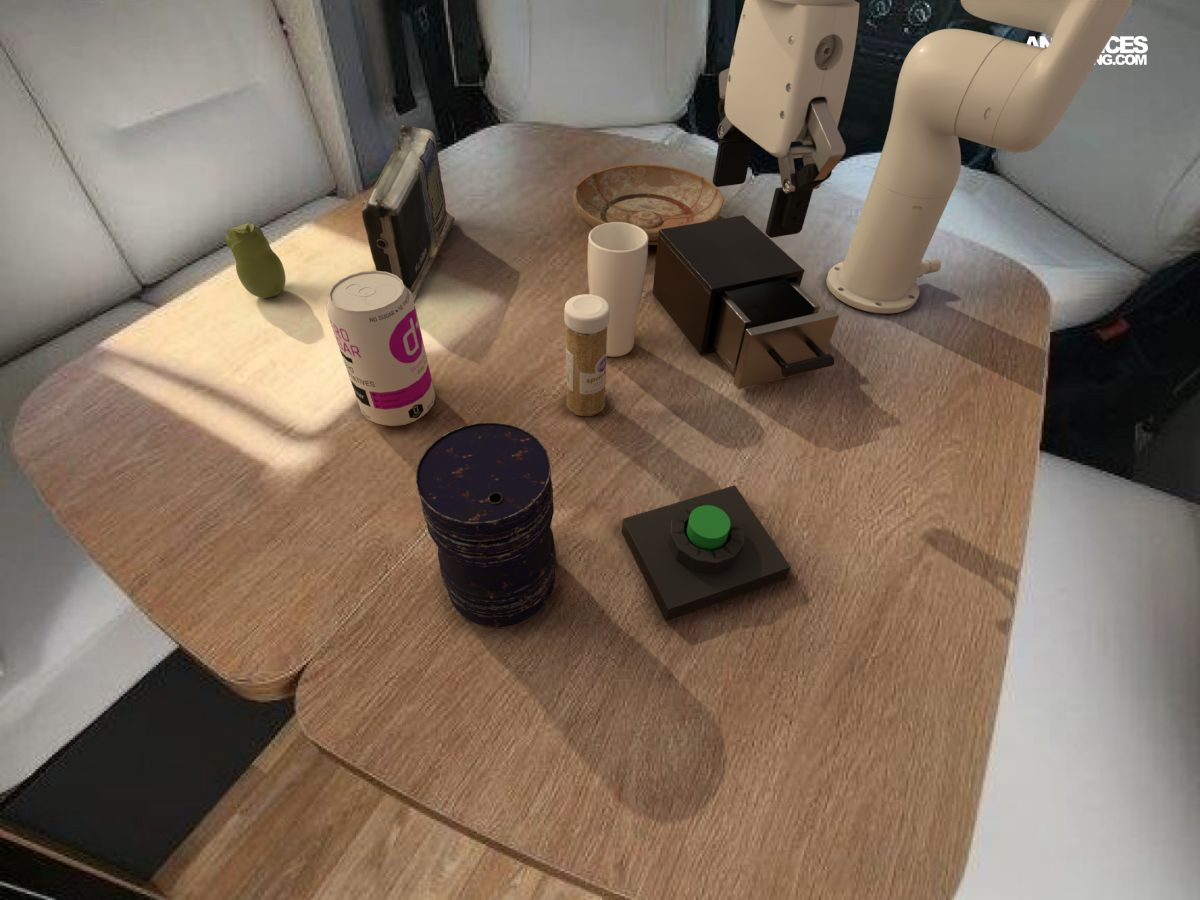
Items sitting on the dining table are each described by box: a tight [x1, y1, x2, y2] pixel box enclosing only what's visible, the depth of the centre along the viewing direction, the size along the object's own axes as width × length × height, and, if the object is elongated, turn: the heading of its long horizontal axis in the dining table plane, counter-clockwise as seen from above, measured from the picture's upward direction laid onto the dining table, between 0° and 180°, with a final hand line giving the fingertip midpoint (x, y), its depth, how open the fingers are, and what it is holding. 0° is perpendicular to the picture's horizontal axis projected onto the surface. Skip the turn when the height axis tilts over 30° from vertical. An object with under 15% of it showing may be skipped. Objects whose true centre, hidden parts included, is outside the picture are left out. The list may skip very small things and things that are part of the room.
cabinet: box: [652, 214, 805, 356], centre depth 81 cm, size 15×13×10 cm
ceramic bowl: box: [572, 163, 725, 246], centre depth 100 cm, size 23×24×5 cm
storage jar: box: [415, 421, 557, 629], centre depth 51 cm, size 10×10×15 cm
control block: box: [621, 484, 792, 623], centre depth 57 cm, size 12×10×4 cm
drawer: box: [708, 278, 840, 390], centre depth 75 cm, size 18×11×8 cm, turn 21°
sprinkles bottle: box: [563, 293, 610, 417], centre depth 67 cm, size 5×5×13 cm
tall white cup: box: [586, 222, 649, 358], centre depth 74 cm, size 7×7×15 cm
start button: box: [687, 505, 731, 550], centre depth 55 cm, size 4×4×2 cm
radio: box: [361, 125, 456, 301], centre depth 87 cm, size 23×9×15 cm, turn 169°
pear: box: [225, 221, 287, 299], centre depth 82 cm, size 6×5×10 cm
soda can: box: [326, 270, 436, 427], centre depth 66 cm, size 8×8×15 cm
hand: (754, 207), depth 55 cm, fingers open, 9 cm apart
